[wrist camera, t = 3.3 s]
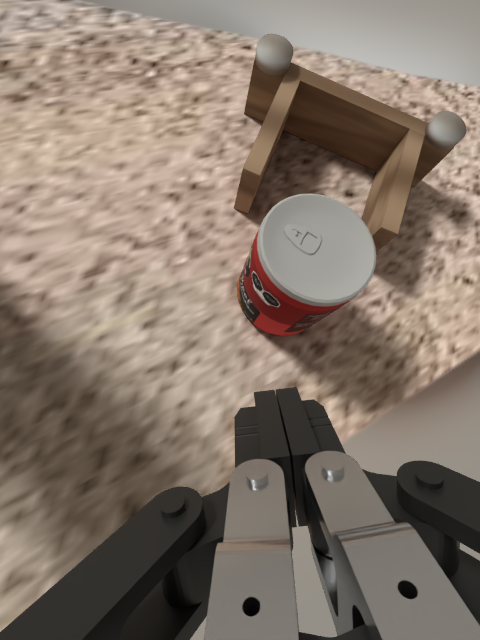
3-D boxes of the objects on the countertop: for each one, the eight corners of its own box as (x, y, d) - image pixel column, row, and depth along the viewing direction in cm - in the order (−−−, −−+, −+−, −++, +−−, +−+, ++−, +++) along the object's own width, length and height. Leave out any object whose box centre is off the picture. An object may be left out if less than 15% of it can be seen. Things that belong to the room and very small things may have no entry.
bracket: (391, 274, 35) (441, 241, 28) (204, 195, 34) (208, 142, 27) (419, 170, 39) (468, 119, 32) (250, 97, 38) (264, 28, 31)
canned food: (246, 249, 34) (272, 177, 23) (324, 272, 34) (385, 212, 24) (226, 324, 32) (245, 282, 21) (310, 347, 32) (369, 318, 22)
